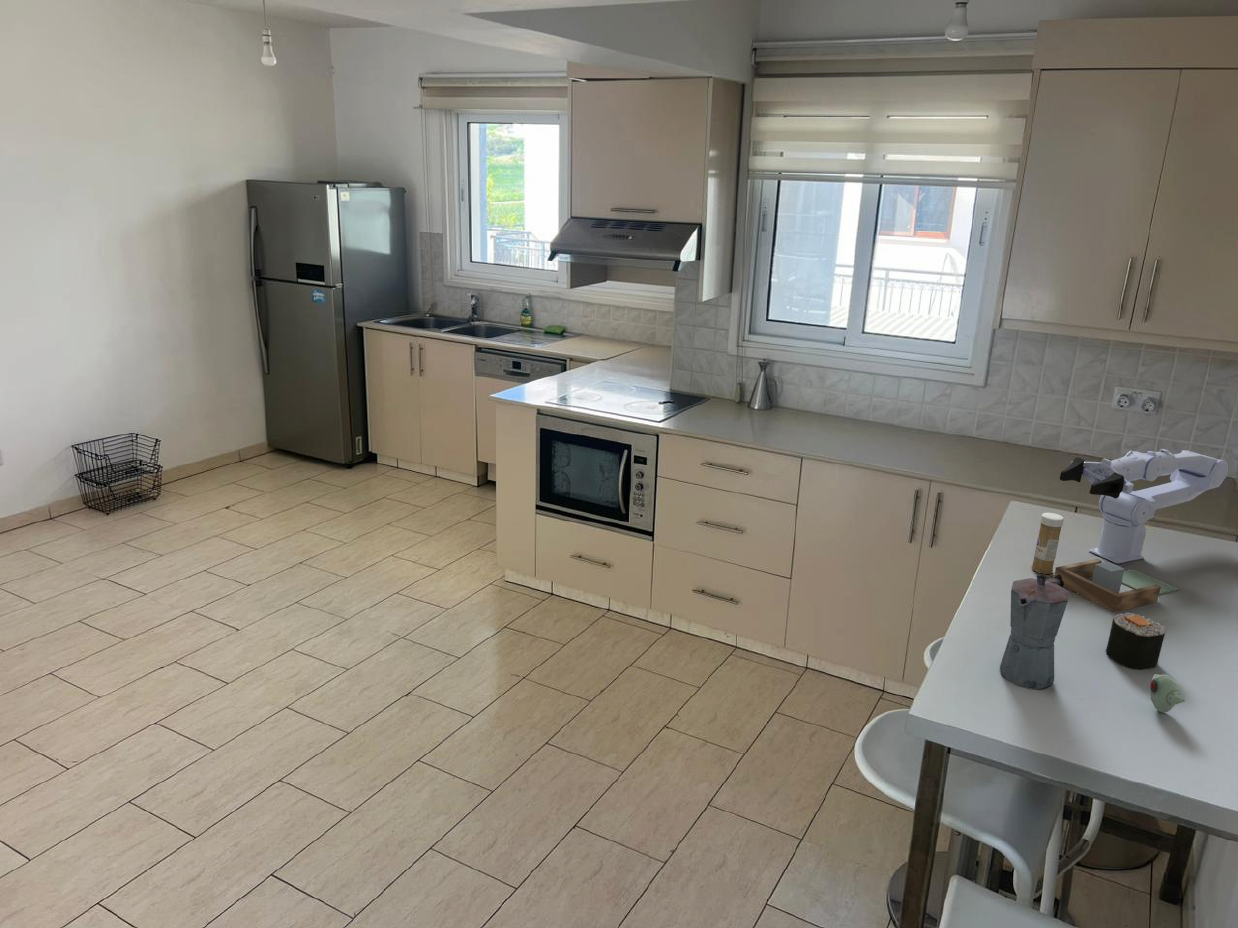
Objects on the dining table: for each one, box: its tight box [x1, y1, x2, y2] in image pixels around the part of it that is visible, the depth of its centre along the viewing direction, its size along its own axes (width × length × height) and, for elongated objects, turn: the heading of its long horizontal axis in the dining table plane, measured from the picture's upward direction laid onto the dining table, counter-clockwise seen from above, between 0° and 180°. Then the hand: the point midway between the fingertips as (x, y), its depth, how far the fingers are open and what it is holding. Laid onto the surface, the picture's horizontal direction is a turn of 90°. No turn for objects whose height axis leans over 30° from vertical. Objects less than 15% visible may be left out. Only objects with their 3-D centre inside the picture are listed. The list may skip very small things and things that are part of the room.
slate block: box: [1091, 561, 1125, 593], centre depth 196 cm, size 4×4×6 cm
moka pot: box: [999, 574, 1070, 690], centre depth 159 cm, size 10×15×20 cm, turn 135°
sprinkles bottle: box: [1031, 512, 1065, 575], centre depth 204 cm, size 5×5×14 cm
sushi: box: [1105, 612, 1167, 670], centre depth 168 cm, size 8×8×8 cm
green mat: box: [1121, 568, 1179, 595], centre depth 202 cm, size 9×11×1 cm
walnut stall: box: [1053, 558, 1161, 613], centre depth 196 cm, size 13×15×4 cm
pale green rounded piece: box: [1149, 673, 1186, 714], centre depth 151 cm, size 8×4×7 cm, turn 175°
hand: (1076, 482), depth 201 cm, fingers open, 7 cm apart
